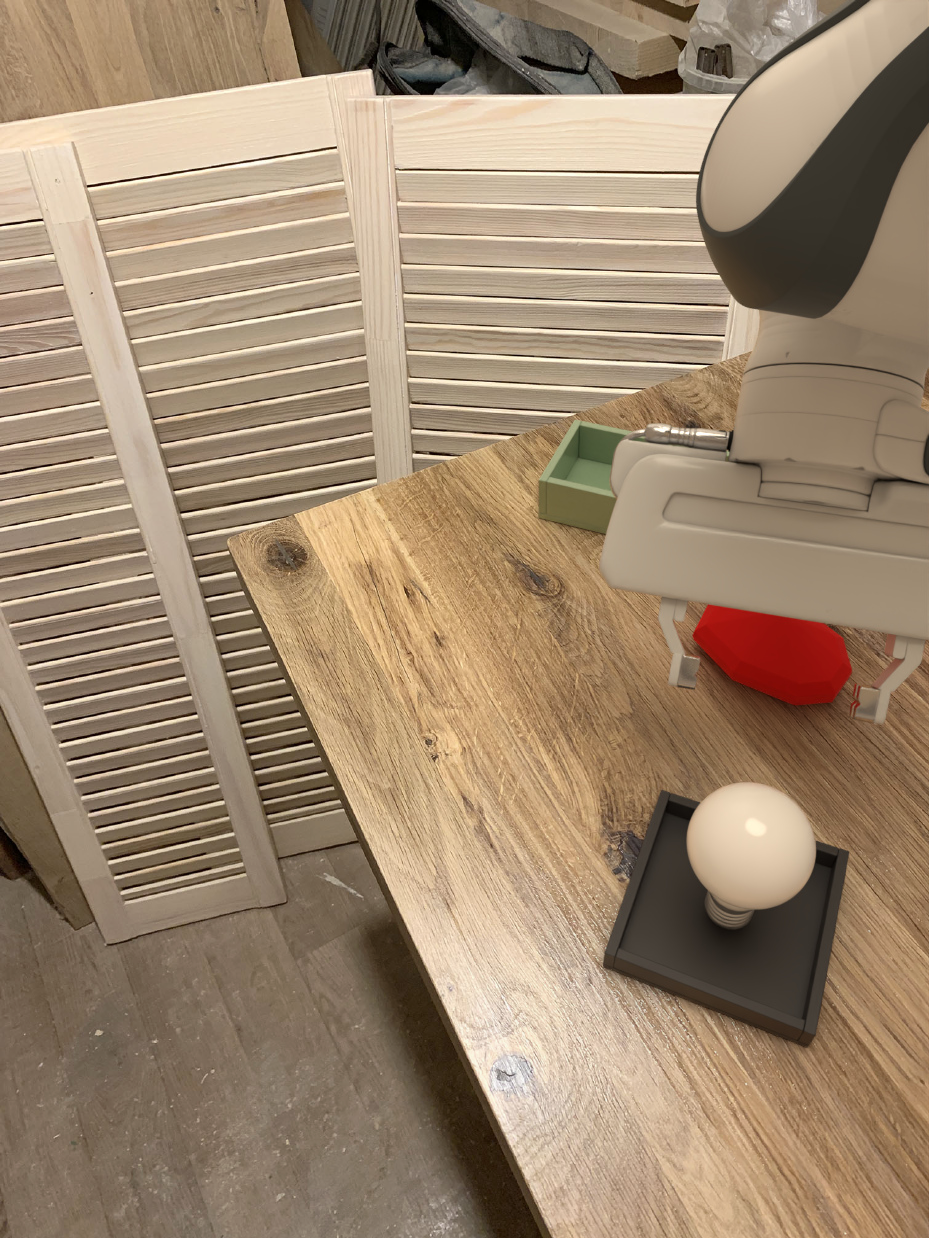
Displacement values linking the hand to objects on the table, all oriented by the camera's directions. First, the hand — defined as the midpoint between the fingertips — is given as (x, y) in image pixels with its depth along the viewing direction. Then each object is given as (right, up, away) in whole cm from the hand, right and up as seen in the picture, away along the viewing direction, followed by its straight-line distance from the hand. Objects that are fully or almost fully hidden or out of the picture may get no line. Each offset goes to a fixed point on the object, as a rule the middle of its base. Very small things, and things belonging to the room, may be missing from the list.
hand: (771, 703), depth 49 cm
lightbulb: (-1, -13, +5) cm, 13 cm away
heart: (+5, +2, +18) cm, 19 cm away
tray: (-1, -13, +5) cm, 14 cm away
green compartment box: (+3, +13, +28) cm, 31 cm away
